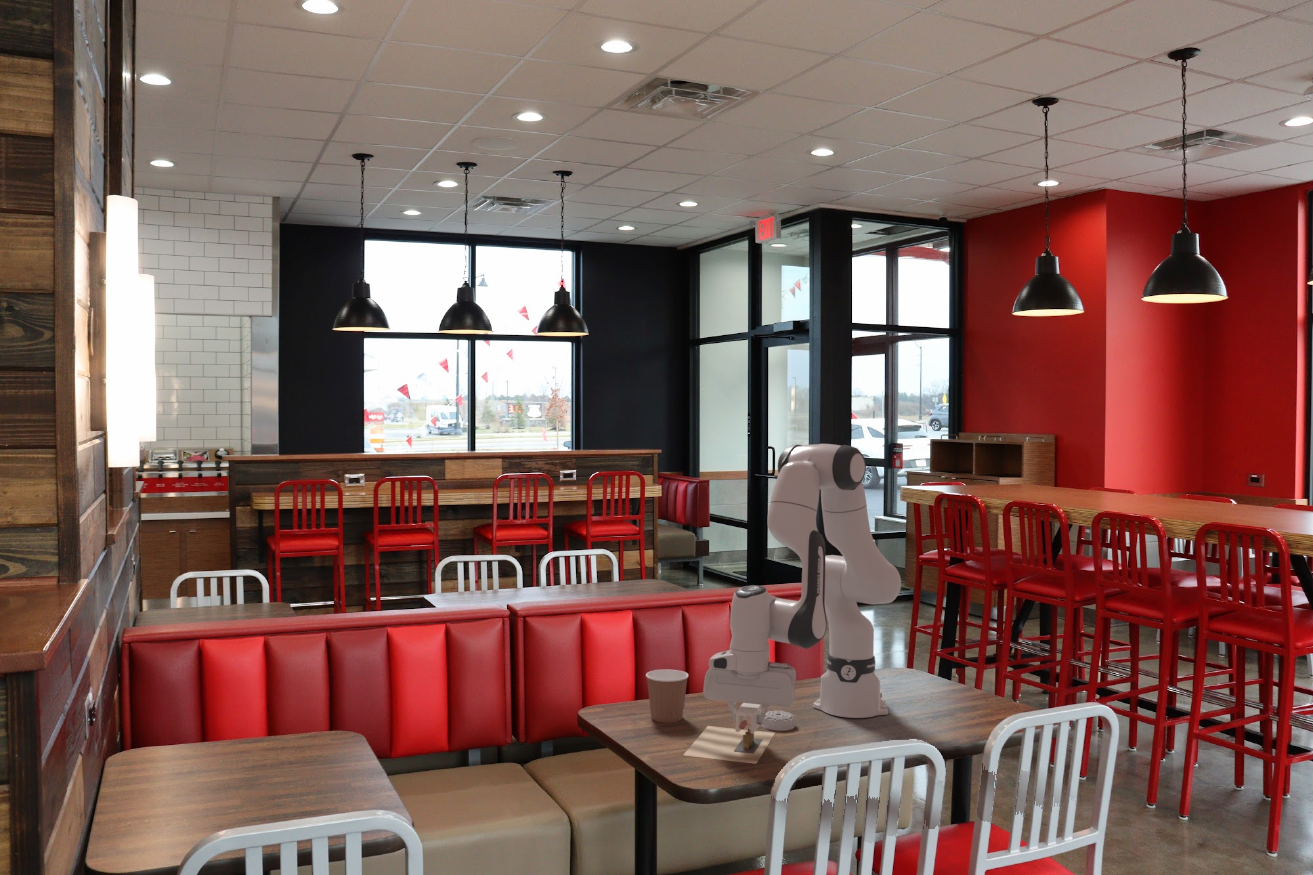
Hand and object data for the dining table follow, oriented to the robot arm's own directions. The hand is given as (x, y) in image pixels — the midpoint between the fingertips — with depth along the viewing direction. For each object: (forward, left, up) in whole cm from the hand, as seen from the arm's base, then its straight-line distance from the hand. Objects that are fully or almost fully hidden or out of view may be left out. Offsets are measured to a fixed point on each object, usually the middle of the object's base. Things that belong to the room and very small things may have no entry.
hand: (748, 722), depth 227 cm
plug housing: (+2, 0, -1) cm, 2 cm away
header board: (0, -4, -7) cm, 8 cm away
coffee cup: (-14, -23, -7) cm, 28 cm away
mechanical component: (-17, +4, -7) cm, 19 cm away
